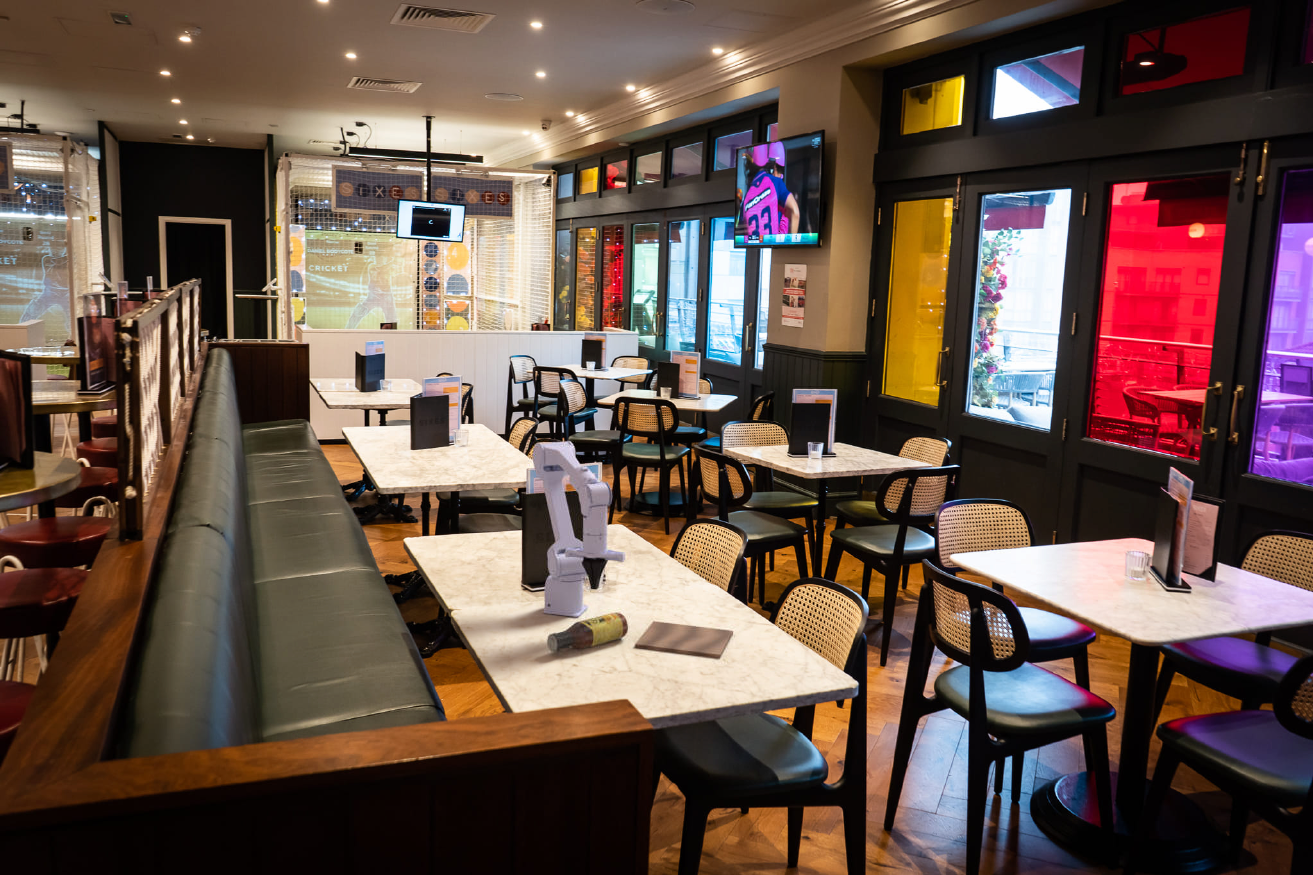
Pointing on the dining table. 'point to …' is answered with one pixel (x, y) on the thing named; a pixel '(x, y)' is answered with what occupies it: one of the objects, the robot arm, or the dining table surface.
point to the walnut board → (685, 639)
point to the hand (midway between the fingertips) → (594, 588)
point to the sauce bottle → (590, 632)
